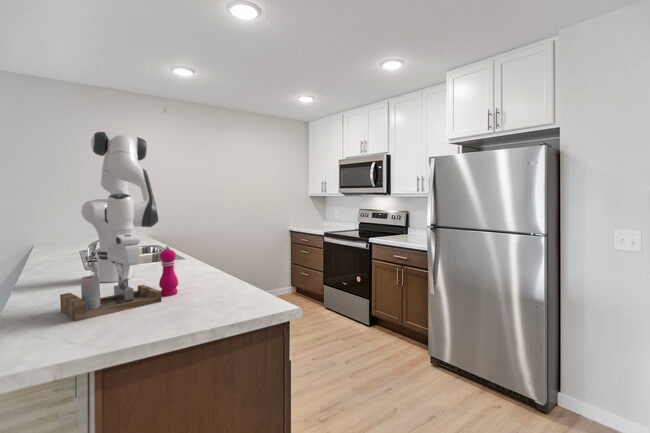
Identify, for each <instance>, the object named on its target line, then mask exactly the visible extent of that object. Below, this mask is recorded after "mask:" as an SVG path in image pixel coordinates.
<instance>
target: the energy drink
mask: <svg viewBox="0 0 650 433" xmlns="http://www.w3.org/2000/svg"><path fill="white" fill-rule="evenodd" d="M80 291H81V292H80V293H81V299H83V300H84V301H85V307H86V311H89V310H94V309H99V308H101V305H100V298H101V292H100V282H99V277H98V276H90V275H87V276H84V277H83V276H82V277H81V278H80Z"/></svg>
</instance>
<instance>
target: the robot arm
mask: <svg viewBox="0 0 650 433" xmlns="http://www.w3.org/2000/svg"><path fill="white" fill-rule="evenodd" d="M90 145H91V149H92V152H93V153H94V154H95V155H98V156H100V157H104V158H103V161H102V167H101V178H100V186H101V187H102V189H103V190H105V191H106V192H108V193H109V194H110V195H108V197H107V198H103V199H99V198H96V199H92V200H88V201H86V202H84V203H83V204H82V207H81V216H82V217H83V219H84V220H85V221H86V222H87V223H89V224H91V225H92V226H93V227H94V229H95V231H96V233H97V235H98V240H99V241H98V243H99V251H98V260H97V261H96V263H95V264H94V266H93V267H91V269H90V270H91V273H93V274H91V275H89V276H98V277H99V283H112V282H113V283H114V282H118V263H121V264H122V265H123V271H122V275H124V276H127V275H128V280H129V279H131V278H133V277H135V276H136V274H135V273H133V270H132V266H136V265H138V264H139V262H140V245H139V244H140V243H141V238H140V237H139V236H138V235H137V233H136V231H135V227H136V228H137V227H138V228H139V227H142V228H152V227H153V226H155V225H156V224H157V223H158V222H159V219H160V213H159V212H160V211H159V209H158V208H159V207H158V206H157V203H156V201H155V197H154V193H153V189H152V184H151V181H150V178H149V175H148V172H147V170H146V169H145V168H142V166H140V164H139V161H143V160H144V159H146V156H147V154H148V148H149V147H148V144H147V141H146V140H145V139H144V138H141V137H139V136H138V137H137V136H136V137H135V136H132V135H129V134H128V135H127V134H125V133H124V134H123V133H116V132H115V133H114V132H113V133H112V132H105V131H97V132H95V133H94V134H93V135H92V138H91V141H90ZM129 183H130V184H134V185H135V186H137V187H138V188H139V189H140V191H141V194H142V195H141V196H142V199H143V200H142V201H141V202H137V201H135V200H134V199H133V198H132V195H131V194H130V191H129Z"/></svg>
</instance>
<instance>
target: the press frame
mask: <svg viewBox="0 0 650 433" xmlns="http://www.w3.org/2000/svg"><path fill="white" fill-rule="evenodd" d="M133 295H134V298H139V297H141V299H136V300H134V301H131V302H126V303H122V304H119V303H117V304H113V305H109V306H104V307H100V308H99V309H94V310H89V311H86V307H85V301H84V300H83V299H82V297H80V296H77V295H76V294H73V293H71V292H67V293H61V294H59V297H60V298H59V300H60V311H61V313H63V314H64V315H66V316H67V317H69V318H70V319H72V321H74V322H79V321H82V320H88V319H92V318H95V317H100V316H104V315H108V314H114V313H118V312H122V311H126V310H132V309H134V308H135V309H136V308H140V307H144V306H147V305H152V304H156V303H160V302H161V303H162V295H161V290H158V289H155V288H153V287H151V286H147V285H145V284H140V285H137V290H133ZM113 302H114V303H116V302H115V301H114V294H112V295H108V296H104V297H100V306H101V305H105V304H110V303H113Z"/></svg>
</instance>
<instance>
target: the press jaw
mask: <svg viewBox="0 0 650 433" xmlns="http://www.w3.org/2000/svg"><path fill="white" fill-rule="evenodd" d="M122 271H123V265H122V264H121V263H118V281H117V283H118V284H117V285H113V293H114V294H113V295H114V301H115V302H114V303H117V304H122V303H126V302H131V301H135V299H134V298H135V297H134V295H133V291H134V288H132V287H130V286H129V279H128V275H127V276H124V275H122Z"/></svg>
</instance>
